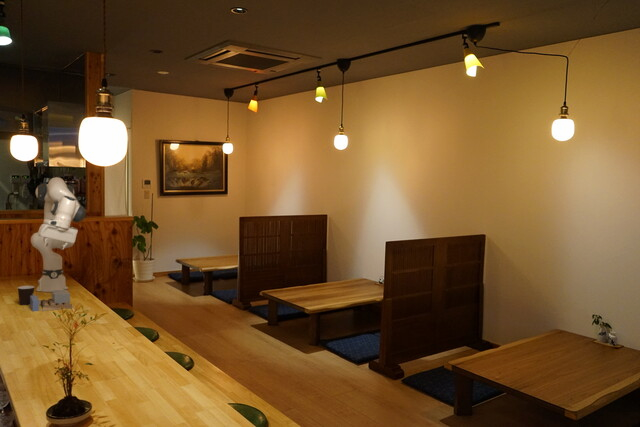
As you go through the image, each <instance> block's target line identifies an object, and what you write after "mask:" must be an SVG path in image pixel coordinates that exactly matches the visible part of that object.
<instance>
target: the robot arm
mask: <svg viewBox="0 0 640 427" xmlns="http://www.w3.org/2000/svg"><path fill="white" fill-rule="evenodd" d="M35 196H36V198H37V199H38V200H40V201H42V202H43V201H44V207H43V208H44V210H43V211H44V212H43V215H44V216H43V221H42V222H43V223H42V224H41V225H40V226H39V229H38V231H37V232H34V233H33V234H32V235H31V237H30V243H31V246H32V247H34V248H35V249H36V250H37V251H38V252H40V254H41V256H42V263H43V265H42V266H43V269H42V272H41V273H42V275H41V277H40V279H38V280H37V281H38V282H37V283H38V285H37V287H36V289H35V290H36V292H45V293H50V292H51V293H52V291H56V290H68V289H69V287H68V286H67V285H66V276H65V275H64V274H63V273H64V268H63V257H62V256H61V254H59V253H57V252H54V251H53V249H59V250H61V251H62V250H64V249H67V248H71V247H73V246H74V244H75V243H76V240H77V239H76V238H77V234H78V231H79V230H78V228H76V227H74V226H72V225H71V224H72V222H74V223H80V222H83V220H85V217H86V209H85V207H84V206H83V205H82V204H81V202H80V201H79V199H78V198H77V197H76V195H75V189H74V187H73V186H72V185H70V184H67V183H66V182H65V180H64V179H63V178H61V177H58V176H56V177H55V176H54V177H52V178H51V179H50V180H49V181H48V183H41V184H39V185H38V186H37V187H36V189H35Z"/></svg>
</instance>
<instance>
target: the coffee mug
mask: <svg viewBox="0 0 640 427" xmlns="http://www.w3.org/2000/svg"><path fill="white" fill-rule="evenodd" d="M34 292H35V286H34V285H23V286H22V285H21V286H18V287H17V295H18V301H19V306H30V296H33V295H35V294H34Z"/></svg>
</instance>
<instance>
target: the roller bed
mask: <svg viewBox="0 0 640 427" xmlns="http://www.w3.org/2000/svg"><path fill="white" fill-rule="evenodd" d="M41 304H42V305H41ZM39 306H42V312H47V310H51V311H57V310H58V309H59V311H60V309H61V306H62V307H63V309H61V310H68V309H72V308H73V303H70V302H67V303H56V304H54V302H53V301H52V299H51V298H48V299H40V300H39ZM64 308H65V309H64Z"/></svg>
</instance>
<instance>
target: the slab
mask: <svg viewBox="0 0 640 427" xmlns="http://www.w3.org/2000/svg"><path fill="white" fill-rule="evenodd" d="M50 299H52V301H53V302H54V304H56V303H67V302H69V303H70V302H71V294H70V292H69V291H68V289H64V290H56V291H52V292H51V298H50Z"/></svg>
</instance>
